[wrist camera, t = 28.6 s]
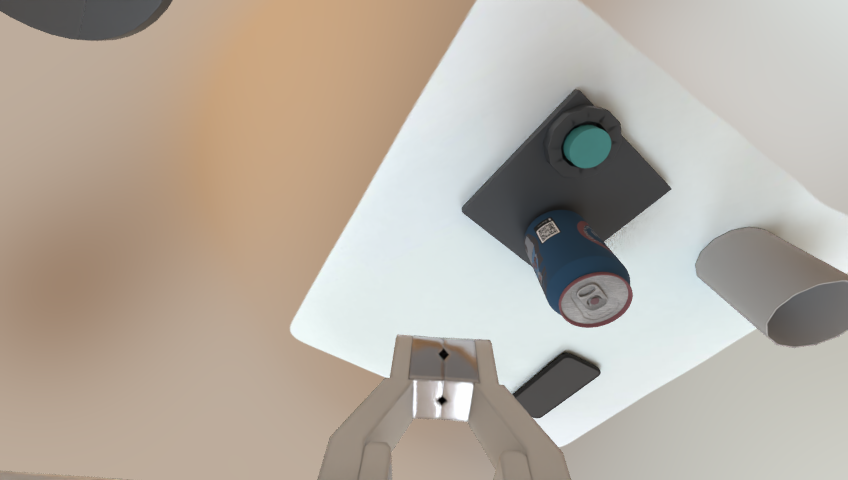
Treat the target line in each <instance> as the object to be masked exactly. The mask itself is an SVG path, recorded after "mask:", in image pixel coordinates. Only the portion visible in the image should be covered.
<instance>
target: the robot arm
mask: <svg viewBox="0 0 848 480" xmlns="http://www.w3.org/2000/svg"><path fill="white" fill-rule="evenodd" d="M413 418H415V419H416V418H418V419H442V420H454V421H465V422H468V424H469V426H470V428H471V429H472V431H473V433H474V434H475V436H476V438H477V439H478V441H479V443H480V444H481V446H482V448H483V450H484V451H485V453H486V455H487V456H488V458H489V460H490V461H491V463H492V465H493V466H494V468H495V470H496V471H495V475H494V479H493V480H571V478H570V475H569V471H568V468H567V465H566V461H565V458H564V455H563V452H562V451H561V450H560V449H559V448H558V446H557V445H556V444H555V443H554V442H553V441H552V440H551V439H550V437H549V436H548V435H547V434H546V433H545V432H544V431H543V429H542V428H541V427H540V426H539V425H538V424H537V423H536V421H535V420H534V419H533V418H532V417H531V416H530V415H529V413H528V412H527V411H526V410H525V409H524V408H523V407H522V405H521V404H520V403H519V402H518V401H517V400H516V399H515V397H514V396H513V395H512V394H511V393H510V392H509V391H508V389H507V388H506V387H505V386H504V385H499V382H498V377H497V371H496V366H495V360H494V354H493V349H492V343H491V341H490V340H481V339H462V338H437V337H425V336H410V335H397V337H396V342H395V348H394V354H393V361H392V367H391V373H390V378H385V379H384V380H383V381H382V382H381V383H380V384H379V385H378V386H377V387H376V388H375V389H374V390H373V391H372V392H371V394H370V395H369V396H368V397H367V398H366V399H365V400H364V401H363V402H362V403H361V404H360V405H359V406H358V407H357V409H356V410H355V411H354V412H353V413H352V414H351V415H350V416H349V417H348V418H347V419H346V420H345V421H344V422H343V424H342V425H341V426H340V427H339V428H338V429H337V430H336V431H335V432H334V433H333V434H332V435H331V436H330V438H329V442H328V445H327V449H326V452H325V456H324V459H323V462H322V466H321V469H320V473H319V476H318V480H392V456H391V452H392V451H393V449H394V448H395V446H396V445H397V443H398V442H399V440H400V439H401V437H402V436H403V434H404V433H405V431H406V430H407V428H408V427H409V425H410V424H411V422H412V420H413ZM0 480H128V479H114V478H100V477H84V476H71V475H56V474H42V473H28V472H12V471H0Z"/></svg>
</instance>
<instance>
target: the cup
mask: <svg viewBox="0 0 848 480" xmlns="http://www.w3.org/2000/svg"><path fill="white" fill-rule="evenodd" d="M695 267H696V273H697V276H698V277H699V278H700V279H701V280H702V281H703V282H704V283H706V284H707V285H708V286H709V287H710V288H711V289H712V290H714V291H715V292H716V293H717V294H718V295H719V296H721V297H722V298H723V299H724V300H725V301H726V302H727V303H729V304H730V305H731V306H732V307H733V308H734V309H735V310H737V311H738V312H739V313H740V314H741V315H742V316H744V317H745V318H746V319H747V320H748V321H749V322H750V323H752V324H753V325H754V326H755V327H756V328H757V329H759V330H760V331H761V332H762V333H763V334H764V335H765V336H766V337H768V338H769V339H770V340H771V341H772V342H774V343H775V344H776V345H780V346H786V347H792V348H796V347H804V346H812V345H817V344H820V343H822V342H825V341H827V340H830V339H833V338H836V337H838V336H840V335H842V334H843V333H844V332H846V331H848V275H847V274H845V273H843V272H842V271H840V270H838V269H836V268H834V267H832V266H831V265H829V264H827V263H825V262H823V261H821V260H820V259H818V258H816V257H814V256H812V255H810V254H809V253H807V252H805V251H803V250H801V249H799V248H797V247H796V246H794V245H792V244H790V243H788V242H786V241H785V240H783V239H781V238H779V237H777V236H775V235H774V234H772V233H770V232H768V231H766V230H763V229H758V228H753V227H747V228H741V229H736V230H731V231H729V232H727V233H725V234H723V235H721V236H720V237H718V238H716V239H714V240H713V241H712V242H711V243H710V244H709V245H708V246H707V247H706V248H705V249H703V250H702V251H701V253H700V255H699V257H698V260H697V262H696V264H695Z"/></svg>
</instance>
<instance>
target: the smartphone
mask: <svg viewBox="0 0 848 480" xmlns="http://www.w3.org/2000/svg"><path fill="white" fill-rule="evenodd" d="M599 375H600V370H599V368H598V367H596V366H594V365H592V364H590V363H588V362H586V361H584V360H582V359H580V358H578V357H576V356H574V355H572V354H568V353H565V354H562V355H560V356H559V357H558V358H557V359H555V360H554V361H553V362H552V363H551V364H549V365H548V366H547V367H546V368H545V369H543V370H542V371H541V372H540V373H539V374H537V375H536V376H535V377H534V378H533V379H531V380H530V381H529V382H528V383H527V384H525V385H524V386H523V387H522V388H520V389H519V390H518V391H517V392H516V393H514V394H513V396H514V397H515V399H516V400H517V401H518V402H519V403H520V404H521V405H522V407H523V408H524V409H525V410H526V411H527V412H528V413H529V415H530V416H531V417H534V418H541V417H542V416H544V415H545V414H547V413H548V412H549V411H551V410H552V409H554V408H555V407H556V406H558V405H559V404H560V403H562V402H563V401H565V400H566V399H567V398H569V397H570V396H572V395H573V394H574V393H576V392H577V391H578V390H580V389H581V388H583V387H584V386H585V385H587V384H588V383H590V382H591V381H592V380H594V379H595V378H596V377H598V376H599Z"/></svg>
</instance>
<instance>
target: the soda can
mask: <svg viewBox="0 0 848 480" xmlns="http://www.w3.org/2000/svg"><path fill="white" fill-rule="evenodd" d="M524 247H525V250H526V253H527V255H528V257H529V259H530V262H531V264H532V266H533V269H534V271H535V273H536V275H537V278H538V280H539V282H540V285H541V287H542V289H543V291H544V294H545V296H546V298H547V301H548V303H549V305H550V306H551V307H552V309H553V310H554V311H556V312H557V313H558V314H560V315H562V316H563V318H564V319H565V320H566V321H568V322H569V323H571V324H573V325H575V326H579V327H586V328H591V327H599V326H603V325H606V324H608V323H611V322H613V321H614V320H616V319H618V318H619V317H620V316H621V315H623V314H624V313H625V312H626V310H627V309H628V308H629V306H630V304H631V301H632V297H633V293H632V289H631V287H630V277H629V274H628V271H627V269H626V268H625V267H624V265H623V264H622V263H621V262H620V261H619V260H618V258H617V257H616V256H615V255H614V254H613V253H612V251H611V250H610V249H609V248H608V247H607V246H606V244H605V243H604V242H603V241H602V240H601V239H600V237H599V236H598V235H597V234H596V233H595V232H594V230H593V229H592V228H591V227H590V226H589V225H588V223H587V222H586V221H585V220H584V219H583V218H582V217H581V216H580V215H579V214H577V213H575V212H572V211H568V210H553V211H549V212H546V213H544V214H542V215H540V216H539V217H537V218H536V219H535V220H534V221H533V222H532V223H531V224H530V225H529V227H528V229H527V231H526V233H525V236H524Z"/></svg>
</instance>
